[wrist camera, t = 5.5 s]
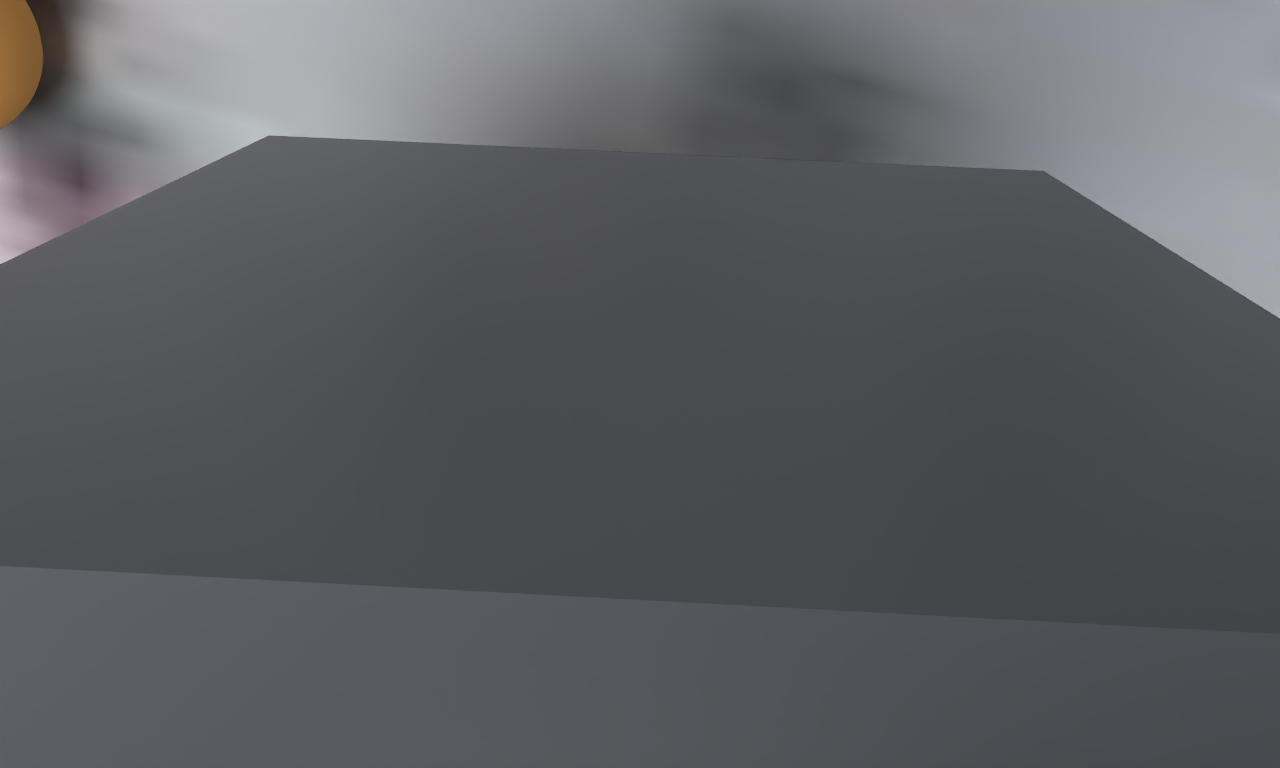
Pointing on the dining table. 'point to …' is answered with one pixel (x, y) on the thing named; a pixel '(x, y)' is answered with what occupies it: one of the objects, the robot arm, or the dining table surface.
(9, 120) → the ball
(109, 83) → the dining table surface
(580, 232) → the smooth grey cube
